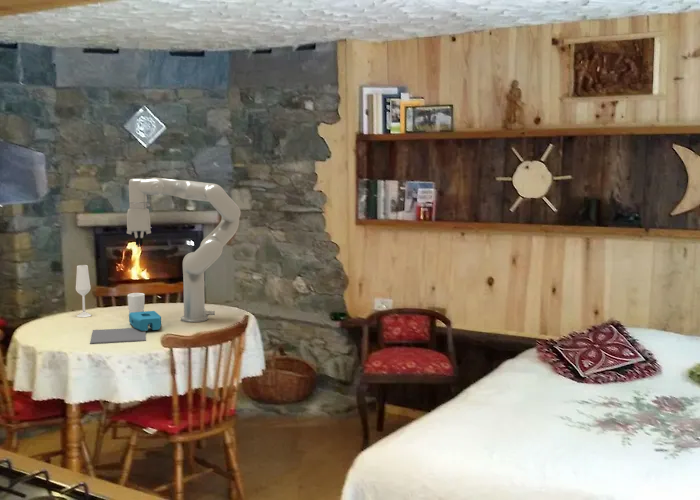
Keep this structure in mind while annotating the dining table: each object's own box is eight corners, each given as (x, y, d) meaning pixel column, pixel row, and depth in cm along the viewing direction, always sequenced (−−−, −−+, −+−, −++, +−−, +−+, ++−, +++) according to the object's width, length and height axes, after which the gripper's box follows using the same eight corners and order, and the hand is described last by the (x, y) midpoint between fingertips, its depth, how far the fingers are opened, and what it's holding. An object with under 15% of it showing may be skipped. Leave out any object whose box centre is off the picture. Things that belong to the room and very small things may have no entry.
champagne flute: (86, 317, 357) (84, 267, 354) (73, 316, 359) (71, 266, 356) (94, 314, 364) (92, 265, 360) (82, 313, 365) (80, 264, 362)
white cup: (148, 314, 365) (148, 294, 364) (135, 317, 358) (135, 296, 357) (137, 312, 369) (136, 292, 368) (124, 315, 363) (123, 294, 361)
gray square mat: (145, 328, 337) (145, 327, 337) (145, 340, 316) (145, 339, 316) (92, 331, 331) (92, 330, 331) (90, 344, 310) (90, 342, 310)
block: (135, 319, 328) (128, 312, 346) (136, 331, 328) (129, 323, 346) (163, 317, 333) (155, 310, 351) (164, 329, 333) (155, 321, 351)
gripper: (155, 205, 347) (156, 245, 350) (121, 205, 343) (122, 245, 346) (155, 206, 340) (156, 247, 343) (120, 207, 336) (121, 248, 339)
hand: (139, 246), depth 344 cm, fingers closed
